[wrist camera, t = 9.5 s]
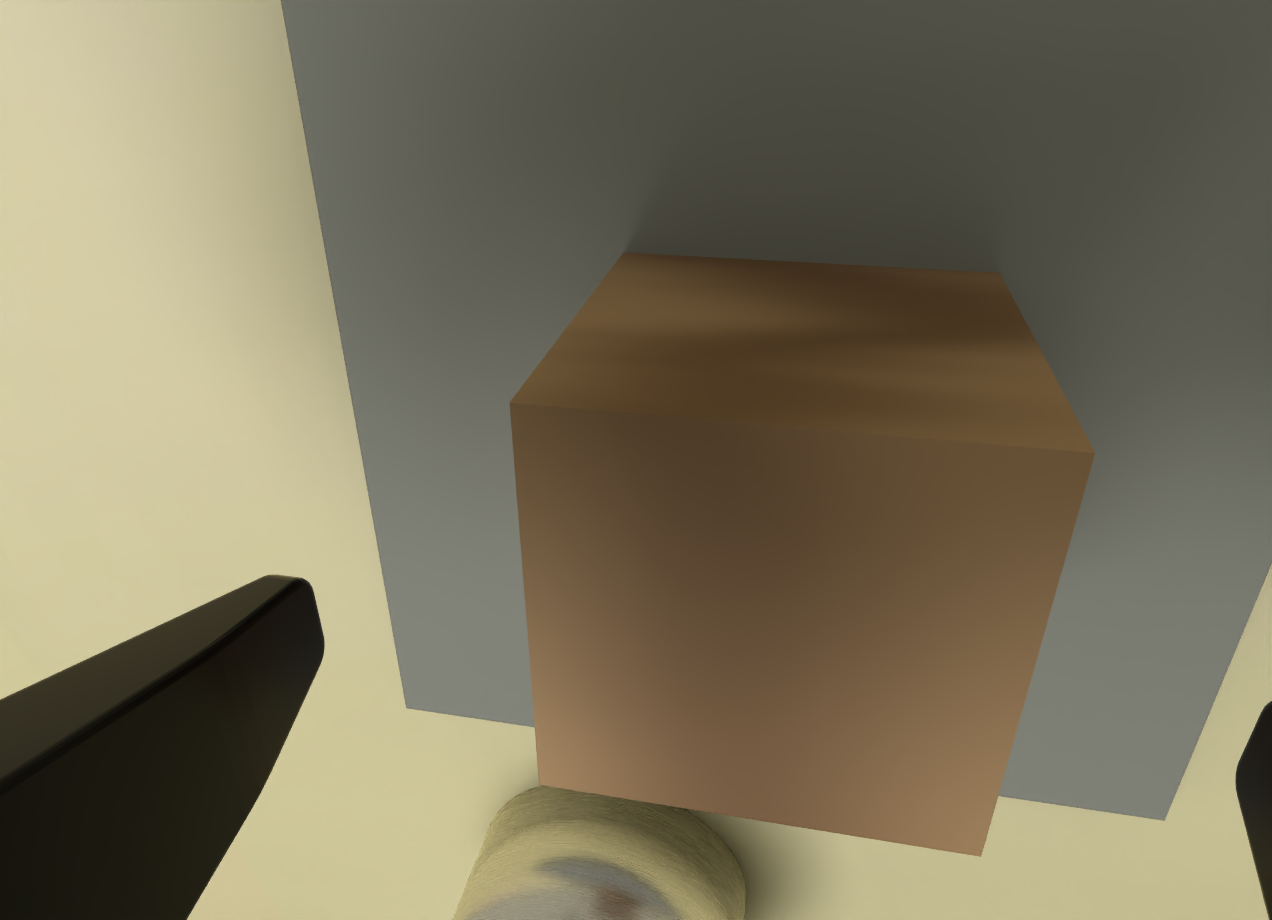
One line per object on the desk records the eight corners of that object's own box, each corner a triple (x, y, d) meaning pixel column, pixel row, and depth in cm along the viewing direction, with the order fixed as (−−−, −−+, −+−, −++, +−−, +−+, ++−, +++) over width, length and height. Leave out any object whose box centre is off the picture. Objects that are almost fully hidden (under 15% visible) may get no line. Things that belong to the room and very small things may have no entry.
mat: (1534, -160, 9) (1575, -165, 9) (1153, 792, 16) (1164, 820, 15) (284, -124, 12) (258, -129, 11) (418, 687, 18) (406, 708, 18)
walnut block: (1000, 272, 12) (1095, 452, 7) (937, 583, 14) (981, 856, 10) (623, 252, 12) (510, 403, 8) (625, 548, 15) (539, 784, 11)
